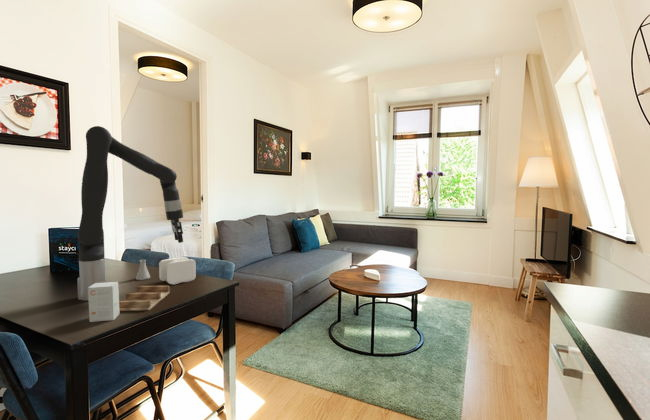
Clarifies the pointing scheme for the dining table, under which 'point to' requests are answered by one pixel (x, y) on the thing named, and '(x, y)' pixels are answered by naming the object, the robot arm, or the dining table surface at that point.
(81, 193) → the robot arm
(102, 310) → the small box
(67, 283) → the dining table surface
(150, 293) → the slot rack
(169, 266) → the cable organizer
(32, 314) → the dining table surface
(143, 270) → the flask
